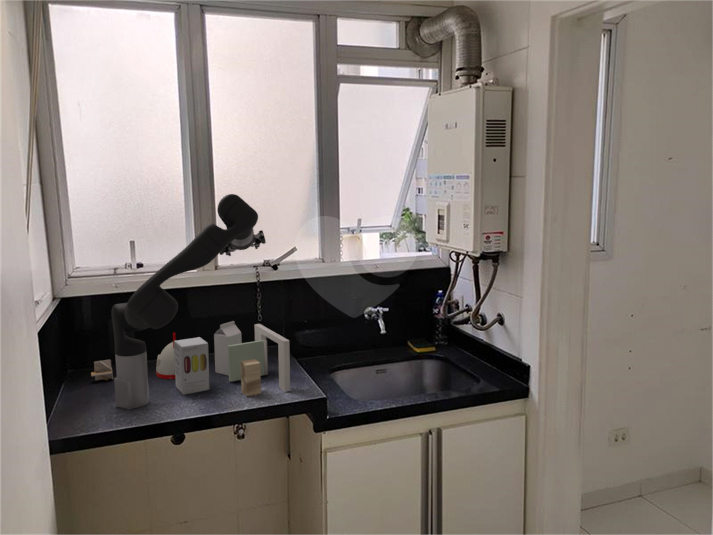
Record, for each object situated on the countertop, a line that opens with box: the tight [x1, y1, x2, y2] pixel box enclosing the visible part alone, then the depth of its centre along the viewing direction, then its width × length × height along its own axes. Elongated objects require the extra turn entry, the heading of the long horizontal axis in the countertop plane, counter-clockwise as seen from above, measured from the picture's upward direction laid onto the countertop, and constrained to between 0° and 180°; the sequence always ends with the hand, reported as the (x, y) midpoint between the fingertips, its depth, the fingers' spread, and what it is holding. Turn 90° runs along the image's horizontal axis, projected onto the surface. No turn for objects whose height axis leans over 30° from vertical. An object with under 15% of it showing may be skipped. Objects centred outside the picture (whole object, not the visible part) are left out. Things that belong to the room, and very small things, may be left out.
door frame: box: [254, 323, 291, 392], centre depth 202 cm, size 26×2×18 cm, turn 32°
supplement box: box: [174, 336, 210, 396], centre depth 195 cm, size 10×9×17 cm
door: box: [228, 339, 269, 382], centre depth 205 cm, size 15×3×13 cm, turn 122°
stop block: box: [240, 359, 262, 397], centre depth 191 cm, size 5×5×11 cm
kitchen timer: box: [155, 332, 177, 380], centre depth 211 cm, size 14×14×15 cm
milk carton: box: [213, 320, 243, 377], centre depth 211 cm, size 7×7×19 cm
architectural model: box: [90, 359, 114, 382], centre depth 203 cm, size 3×7×7 cm, turn 118°
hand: (242, 249), depth 177 cm, fingers open, 8 cm apart
